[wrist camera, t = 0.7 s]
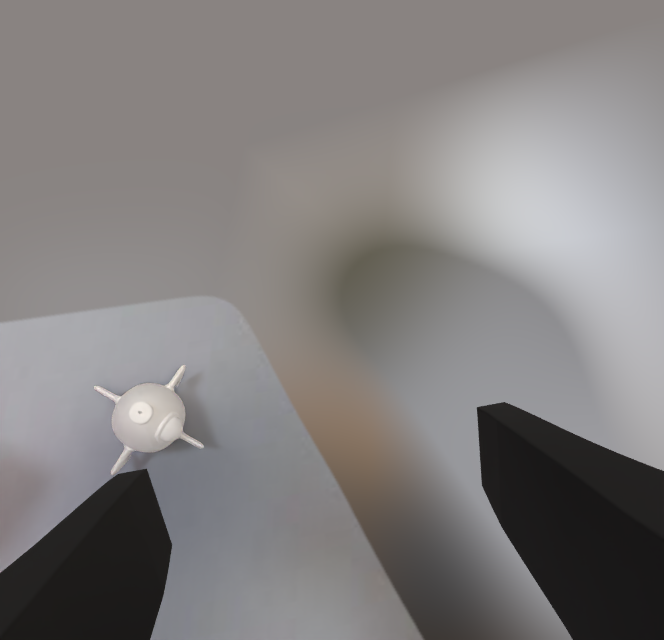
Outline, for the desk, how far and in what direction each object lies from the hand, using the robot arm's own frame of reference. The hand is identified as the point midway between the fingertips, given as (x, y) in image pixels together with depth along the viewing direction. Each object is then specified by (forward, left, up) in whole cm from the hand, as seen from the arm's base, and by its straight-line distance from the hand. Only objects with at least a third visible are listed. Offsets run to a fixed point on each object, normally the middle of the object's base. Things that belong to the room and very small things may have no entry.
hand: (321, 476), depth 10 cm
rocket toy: (+4, +5, -24) cm, 25 cm away
